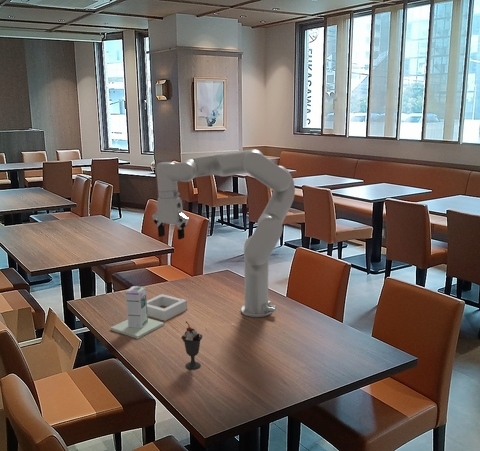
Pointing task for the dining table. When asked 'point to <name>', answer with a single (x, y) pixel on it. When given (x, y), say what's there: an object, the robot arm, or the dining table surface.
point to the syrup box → (136, 307)
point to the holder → (173, 308)
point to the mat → (137, 332)
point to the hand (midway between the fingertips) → (171, 237)
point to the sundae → (192, 346)
